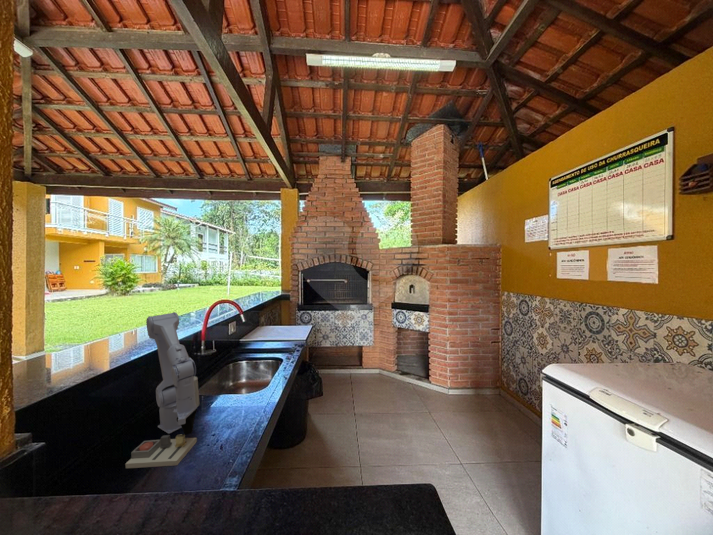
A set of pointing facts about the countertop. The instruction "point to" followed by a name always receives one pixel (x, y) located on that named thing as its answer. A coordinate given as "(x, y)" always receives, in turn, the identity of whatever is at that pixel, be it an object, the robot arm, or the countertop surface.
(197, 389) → the cup
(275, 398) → the countertop surface
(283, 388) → the countertop surface
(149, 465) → the panel
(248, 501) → the countertop surface
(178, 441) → the yellow slider knob
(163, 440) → the grey slider knob
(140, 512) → the countertop surface
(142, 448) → the red button
